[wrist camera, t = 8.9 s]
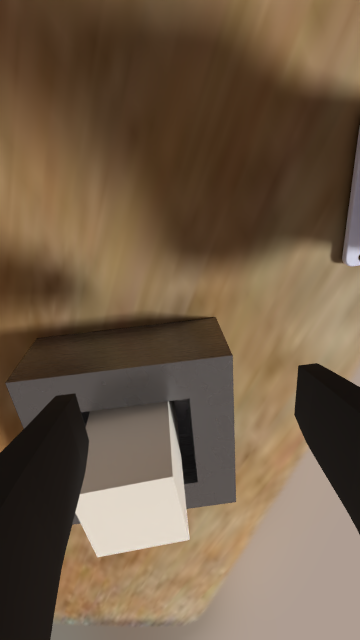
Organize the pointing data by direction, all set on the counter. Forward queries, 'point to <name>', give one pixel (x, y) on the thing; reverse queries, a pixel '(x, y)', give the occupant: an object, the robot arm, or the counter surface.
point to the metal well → (146, 390)
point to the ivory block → (133, 479)
